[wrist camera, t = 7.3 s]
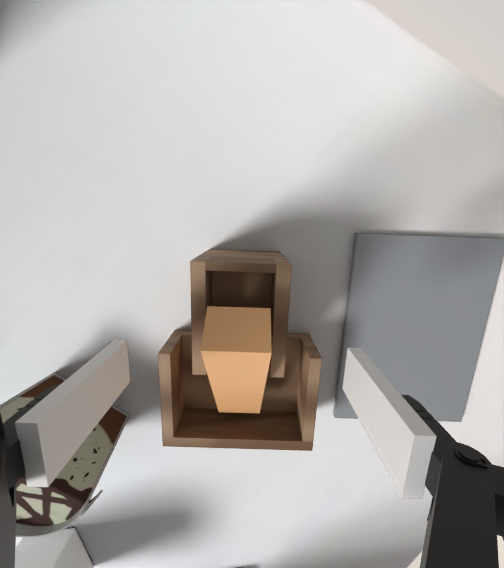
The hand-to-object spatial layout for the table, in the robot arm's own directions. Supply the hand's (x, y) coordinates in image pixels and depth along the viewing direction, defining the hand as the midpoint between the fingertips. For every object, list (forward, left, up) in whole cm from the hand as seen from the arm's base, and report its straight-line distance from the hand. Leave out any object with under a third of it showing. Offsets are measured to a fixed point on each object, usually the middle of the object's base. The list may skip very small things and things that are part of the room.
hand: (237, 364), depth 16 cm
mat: (+2, +17, -11) cm, 21 cm away
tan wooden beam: (+2, 0, -6) cm, 7 cm away
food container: (+13, -18, -12) cm, 25 cm away
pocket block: (+3, 0, -11) cm, 12 cm away
